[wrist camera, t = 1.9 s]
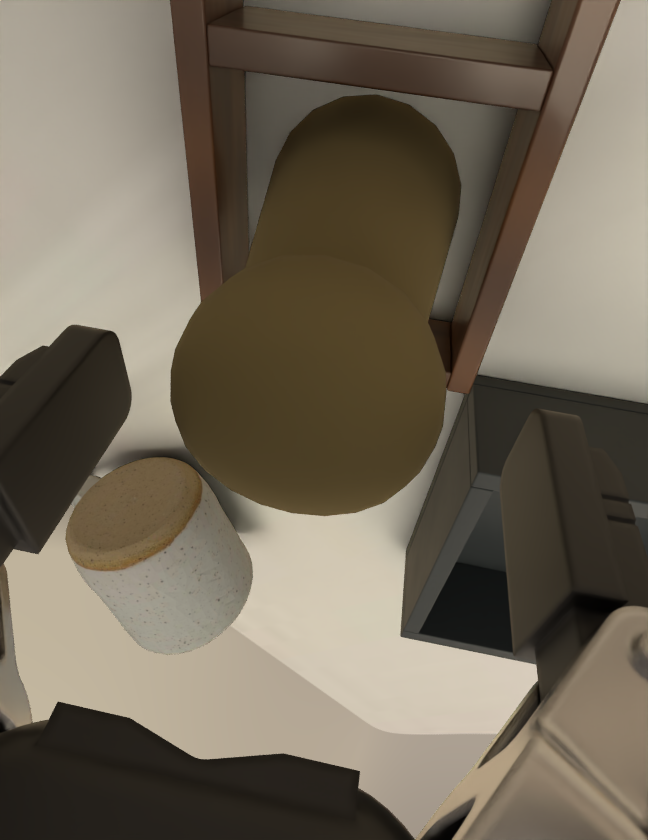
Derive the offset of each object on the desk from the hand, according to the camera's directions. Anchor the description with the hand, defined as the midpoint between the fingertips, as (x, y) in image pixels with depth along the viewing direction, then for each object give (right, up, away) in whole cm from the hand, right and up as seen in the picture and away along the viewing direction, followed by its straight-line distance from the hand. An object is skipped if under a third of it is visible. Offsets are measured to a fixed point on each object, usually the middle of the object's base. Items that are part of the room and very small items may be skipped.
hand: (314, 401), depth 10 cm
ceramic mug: (-9, -5, +20) cm, 23 cm away
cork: (+1, +7, +6) cm, 9 cm away
